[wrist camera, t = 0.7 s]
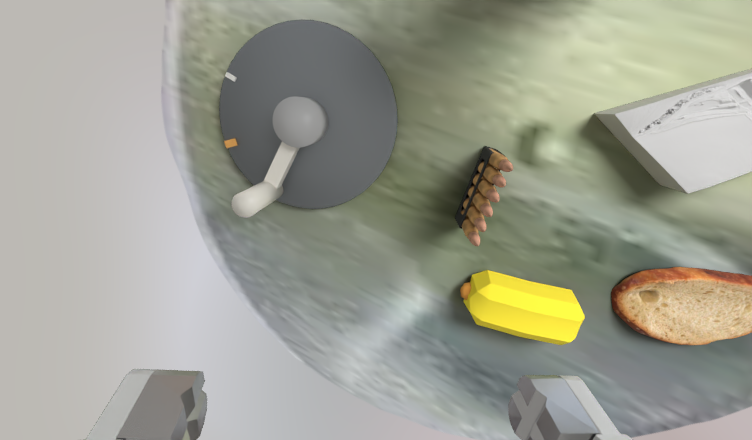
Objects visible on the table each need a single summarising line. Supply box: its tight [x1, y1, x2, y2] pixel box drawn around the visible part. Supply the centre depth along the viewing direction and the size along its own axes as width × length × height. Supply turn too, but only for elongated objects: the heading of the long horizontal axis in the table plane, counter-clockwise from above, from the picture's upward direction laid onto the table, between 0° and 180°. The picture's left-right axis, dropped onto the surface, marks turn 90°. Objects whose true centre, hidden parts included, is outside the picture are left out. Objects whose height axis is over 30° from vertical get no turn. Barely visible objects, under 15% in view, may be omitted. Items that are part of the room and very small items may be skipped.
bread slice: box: [611, 267, 752, 345], centre depth 49 cm, size 18×18×4 cm
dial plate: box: [219, 20, 398, 209], centre depth 48 cm, size 24×24×2 cm
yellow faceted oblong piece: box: [460, 270, 585, 345], centre depth 51 cm, size 18×7×8 cm
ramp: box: [594, 69, 752, 193], centre depth 42 cm, size 28×16×5 cm, turn 88°
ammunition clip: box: [455, 146, 513, 246], centre depth 44 cm, size 11×2×12 cm, turn 162°
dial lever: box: [231, 96, 328, 218], centre depth 44 cm, size 15×6×9 cm, turn 150°
